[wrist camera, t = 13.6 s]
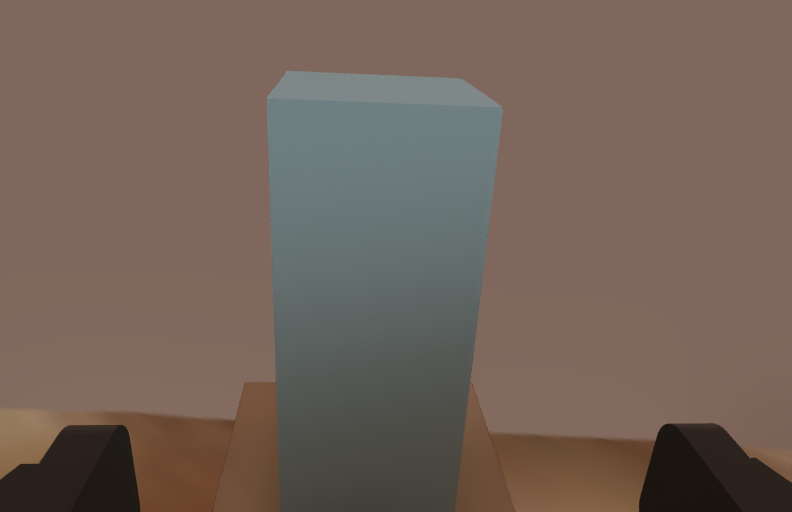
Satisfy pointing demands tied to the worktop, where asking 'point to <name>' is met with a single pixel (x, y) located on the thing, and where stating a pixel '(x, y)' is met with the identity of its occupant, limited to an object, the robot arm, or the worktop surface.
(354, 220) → the post
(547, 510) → the worktop surface
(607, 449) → the worktop surface
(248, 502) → the block
